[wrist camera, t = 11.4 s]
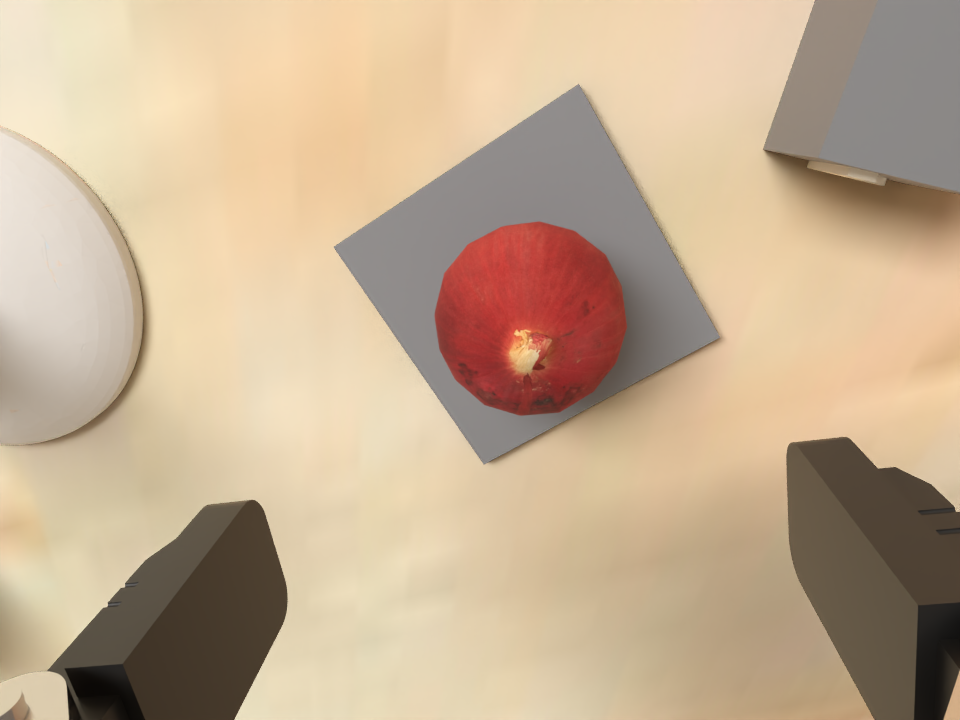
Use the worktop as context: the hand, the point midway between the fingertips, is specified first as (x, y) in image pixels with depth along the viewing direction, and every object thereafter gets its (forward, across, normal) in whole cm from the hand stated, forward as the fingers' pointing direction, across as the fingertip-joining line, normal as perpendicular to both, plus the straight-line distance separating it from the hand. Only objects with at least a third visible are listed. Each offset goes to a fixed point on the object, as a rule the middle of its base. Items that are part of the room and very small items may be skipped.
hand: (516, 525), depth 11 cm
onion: (+15, 0, 0) cm, 15 cm away
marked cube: (+16, -12, -5) cm, 20 cm away
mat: (+16, 0, 0) cm, 16 cm away
